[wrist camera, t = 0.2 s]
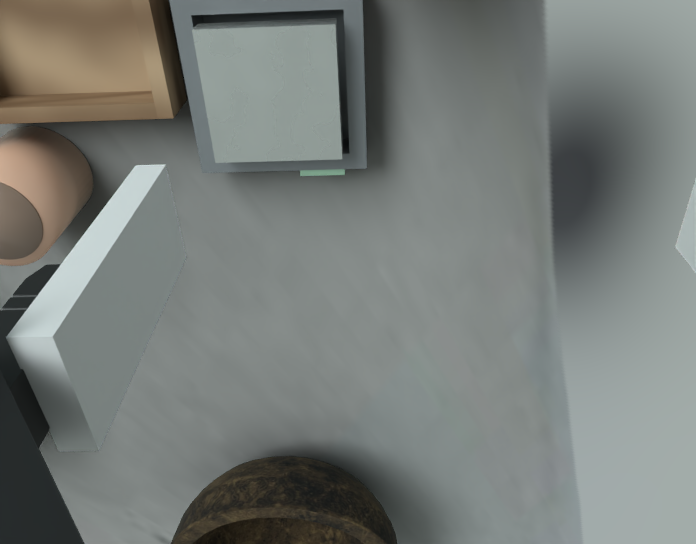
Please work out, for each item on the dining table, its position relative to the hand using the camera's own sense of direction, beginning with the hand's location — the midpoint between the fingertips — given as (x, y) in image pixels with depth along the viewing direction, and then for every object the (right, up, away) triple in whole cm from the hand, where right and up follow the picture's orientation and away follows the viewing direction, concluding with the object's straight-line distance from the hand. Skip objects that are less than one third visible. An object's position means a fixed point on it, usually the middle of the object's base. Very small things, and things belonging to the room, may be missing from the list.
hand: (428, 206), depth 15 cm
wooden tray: (-20, +15, +22) cm, 33 cm away
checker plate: (-6, +9, +22) cm, 25 cm away
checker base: (-6, +11, +25) cm, 28 cm away
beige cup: (-24, +6, +29) cm, 38 cm away
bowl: (-8, -24, +49) cm, 55 cm away
